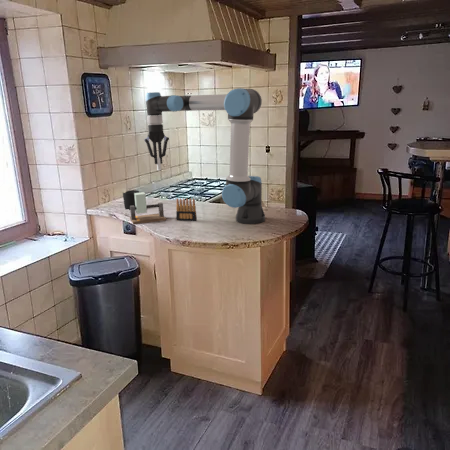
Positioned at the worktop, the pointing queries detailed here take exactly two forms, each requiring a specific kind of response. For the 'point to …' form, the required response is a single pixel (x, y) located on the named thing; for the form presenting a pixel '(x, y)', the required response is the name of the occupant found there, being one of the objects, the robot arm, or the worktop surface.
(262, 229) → the worktop surface
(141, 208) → the sleeve
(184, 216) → the ammunition clip
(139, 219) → the cord rack
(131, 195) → the pen holder
